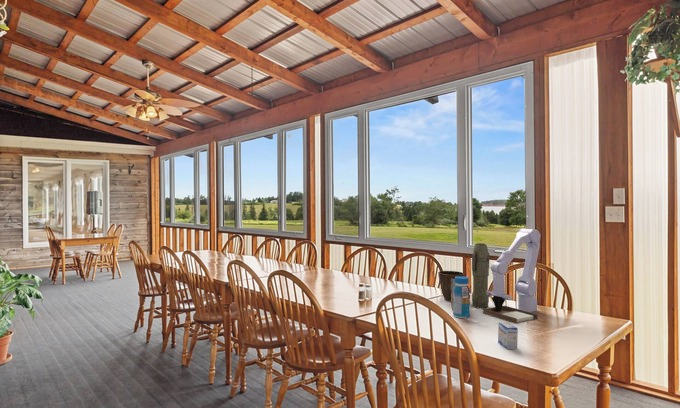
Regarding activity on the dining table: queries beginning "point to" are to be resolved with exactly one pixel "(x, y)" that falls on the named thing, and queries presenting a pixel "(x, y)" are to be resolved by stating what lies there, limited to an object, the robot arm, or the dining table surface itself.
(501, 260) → the robot arm
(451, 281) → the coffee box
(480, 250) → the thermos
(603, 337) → the dining table surface
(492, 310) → the case
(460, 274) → the plant pot
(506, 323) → the medicine box
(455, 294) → the beverage bottle
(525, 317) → the cover plate
